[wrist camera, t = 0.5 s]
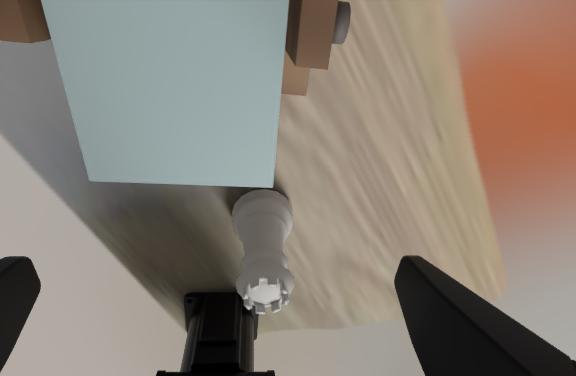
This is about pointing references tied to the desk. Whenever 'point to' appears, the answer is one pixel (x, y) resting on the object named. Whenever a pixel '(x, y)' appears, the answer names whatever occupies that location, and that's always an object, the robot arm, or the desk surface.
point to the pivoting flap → (173, 87)
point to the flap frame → (298, 47)
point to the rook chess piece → (263, 249)
